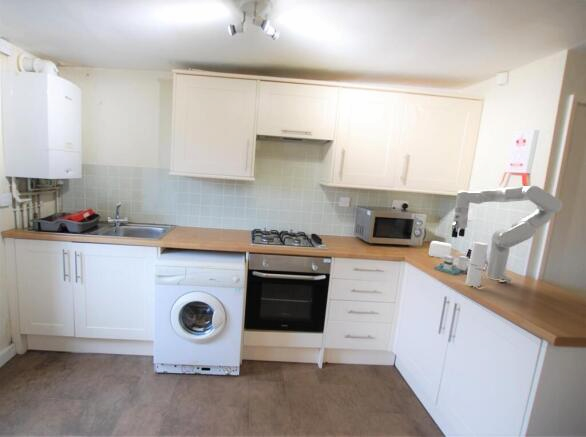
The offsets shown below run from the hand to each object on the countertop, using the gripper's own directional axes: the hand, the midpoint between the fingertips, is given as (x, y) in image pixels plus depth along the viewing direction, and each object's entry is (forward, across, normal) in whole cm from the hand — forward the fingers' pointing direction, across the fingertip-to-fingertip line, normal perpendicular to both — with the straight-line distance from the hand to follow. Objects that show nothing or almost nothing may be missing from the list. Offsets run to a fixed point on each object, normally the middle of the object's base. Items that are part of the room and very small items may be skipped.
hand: (457, 236), depth 193 cm
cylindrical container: (+24, -16, -19) cm, 34 cm away
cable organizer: (+24, +29, +24) cm, 44 cm away
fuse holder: (+23, +2, 0) cm, 24 cm away
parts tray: (+23, -6, +1) cm, 24 cm away
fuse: (+22, +2, -4) cm, 23 cm away
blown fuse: (+23, -6, +1) cm, 24 cm away
